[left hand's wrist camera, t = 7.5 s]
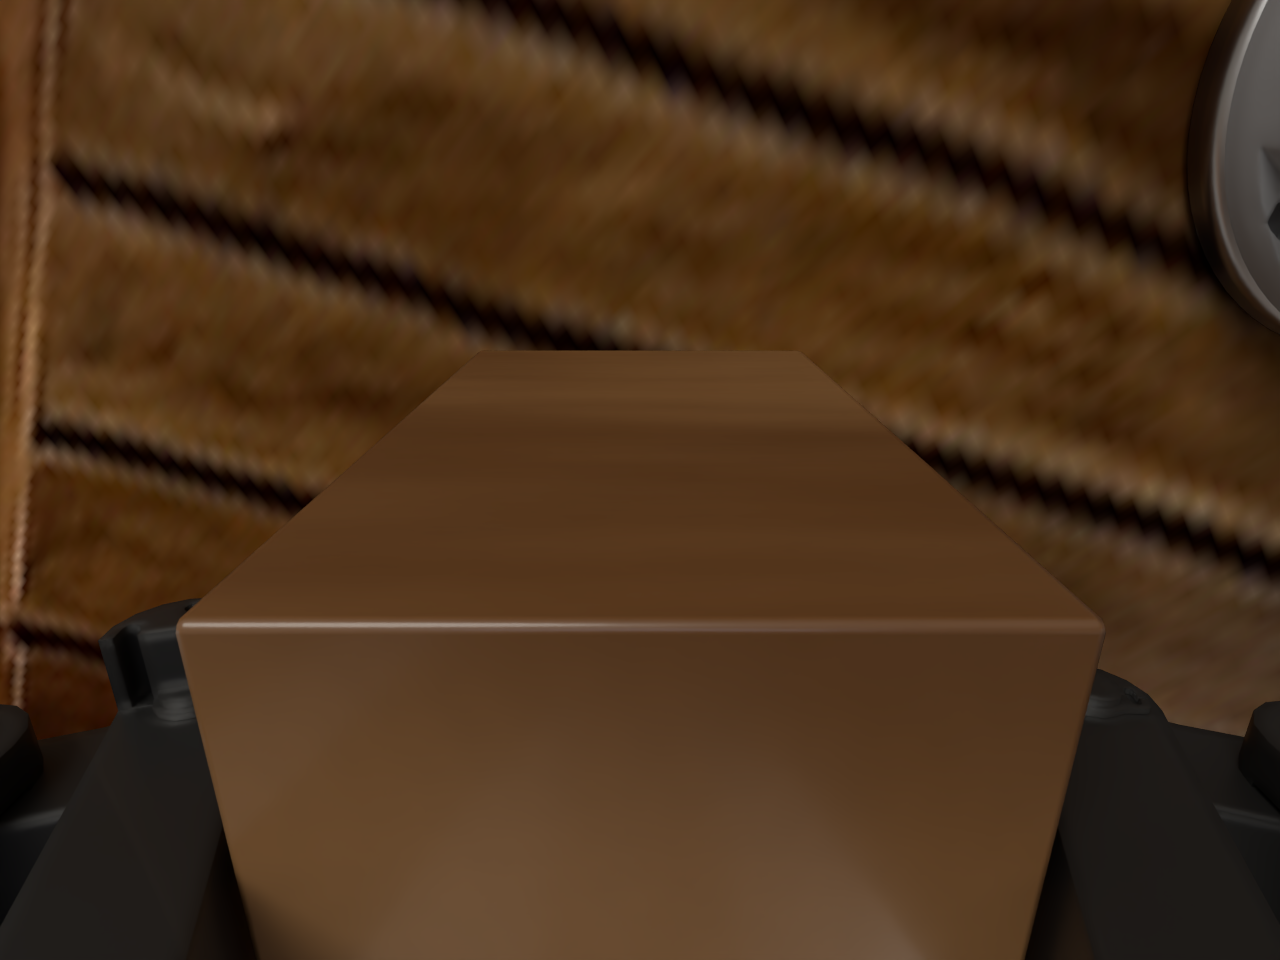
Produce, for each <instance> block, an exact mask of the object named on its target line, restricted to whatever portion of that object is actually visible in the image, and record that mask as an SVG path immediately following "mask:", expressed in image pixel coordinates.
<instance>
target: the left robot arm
mask: <svg viewBox="0 0 1280 960" xmlns="http://www.w3.org/2000/svg"><path fill="white" fill-rule="evenodd" d="M1187 171H1188V190H1189V198H1190V206H1191V212H1192V216H1193V220H1194V224H1195V228H1196V232H1197V235H1198V238H1199V241H1200V244H1201V246H1202V249H1203V252H1204V254H1205V256H1206V258H1207V260H1208V262H1209V264H1210V266H1211V268H1212V270H1213V272H1214V274H1215V275H1216V277H1217V278H1218V280H1219V281H1220V283H1221V284H1222V286H1223V287H1224V289H1225V290H1226V291H1227V292H1228V294H1229V295H1230V296H1231V297H1232V298H1233V299H1234V300H1235V301H1236V303H1237V304H1238V305H1239V306H1240V307H1241V308H1242V309H1244V310H1245V311H1246V312H1247V313H1248V314H1249V315H1250V316H1252V317H1253V318H1254V319H1255V320H1257V321H1258V322H1259V323H1261V324H1262V325H1264V326H1265V327H1267V328H1268V329H1270V330H1271V331H1273V332H1275V333H1277V334H1279V335H1280V0H1232V1H1231V3H1230V5H1229V7H1228V9H1227V11H1226V13H1225V15H1224V17H1223V19H1222V21H1221V24H1220V26H1219V28H1218V31H1217V33H1216V35H1215V38H1214V40H1213V43H1212V45H1211V47H1210V50H1209V53H1208V56H1207V59H1206V62H1205V65H1204V68H1203V71H1202V74H1201V77H1200V81H1199V85H1198V89H1197V93H1196V97H1195V101H1194V105H1193V111H1192V118H1191V124H1190V130H1189V141H1188V156H1187ZM201 599H202V598H200V599H188V600H183V601H178V602H173V603H168V604H164V605H161V606H158V607H155V608H152V609H149V610H146V611H144V612H141V613H138V614H135V615H134V616H132V617H130V618H128V619H126V620H124V621H123V622H121V623H119V624H117V625H115V626H114V627H112V628H111V629H110V630H109V631H108V632H107V633H106V634H105V635H104V636H103V637H102V638H101V639H99V640H98V642H99V645H100V649H101V652H102V655H103V659H104V662H105V666H106V669H107V673H108V676H109V680H110V683H111V686H112V690H113V693H114V697H115V700H116V704H117V707H118V713H117V715H116V717H115V718H114V720H113V722H112V724H111V726H108V727H104V728H100V729H95V730H89V731H84V732H79V733H74V734H68V735H63V736H58V737H53V738H48V739H42V740H37V738H36V735H35V732H34V729H33V726H32V723H31V720H30V718H29V715H28V713H26V712H25V711H23V710H22V709H20V708H19V707H17V706H12V705H2V704H0V960H256V957H255V952H254V948H253V944H252V940H251V936H250V932H249V928H248V924H247V920H246V916H245V912H244V908H243V904H242V900H241V896H240V892H239V888H238V884H237V880H236V876H235V872H234V868H233V864H232V859H231V855H230V851H229V847H228V843H227V839H226V835H225V831H224V827H223V823H222V819H221V815H220V811H219V807H218V803H217V799H216V795H215V791H214V787H213V783H212V779H211V775H210V770H209V766H208V762H207V758H206V754H205V750H204V746H203V742H202V738H201V734H200V730H199V726H198V722H197V718H196V714H195V710H194V706H193V702H192V698H191V694H190V690H189V686H188V682H187V677H186V673H185V669H184V665H183V661H182V657H181V653H180V649H179V645H178V641H177V637H176V626H177V623H178V621H179V619H180V618H181V617H182V616H183V615H184V614H185V613H186V612H188V611H189V610H190V609H191V608H192V607H193V606H194V605H195V604H197V603H198V602H199V601H200V600H201ZM1025 960H1280V701H1275V702H1265V703H1264V704H1262V705H1261V706H1259V707H1258V708H1257V709H1255V710H1254V711H1253V714H1252V717H1251V720H1250V723H1249V726H1248V729H1247V731H1246V734H1245V737H1241V736H1236V735H1230V734H1225V733H1220V732H1215V731H1209V730H1204V729H1199V728H1194V727H1188V726H1183V725H1178V724H1174V723H1170V722H1168V721H1167V719H1166V717H1165V715H1164V713H1163V712H1162V710H1161V709H1160V708H1159V706H1158V705H1157V704H1156V703H1155V702H1154V701H1153V700H1152V698H1151V697H1150V696H1149V695H1148V694H1147V693H1145V692H1143V691H1142V690H1140V689H1139V688H1137V687H1136V686H1134V685H1133V684H1131V683H1130V682H1128V681H1127V680H1124V679H1122V678H1120V677H1117V676H1115V675H1112V674H1110V673H1108V672H1105V671H1103V670H1100V669H1097V670H1096V674H1095V678H1094V682H1093V686H1092V690H1091V694H1090V698H1089V702H1088V706H1087V711H1086V715H1085V719H1084V723H1083V727H1082V731H1081V735H1080V739H1079V743H1078V747H1077V751H1076V755H1075V759H1074V763H1073V767H1072V771H1071V775H1070V779H1069V783H1068V787H1067V791H1066V795H1065V799H1064V803H1063V807H1062V811H1061V815H1060V819H1059V823H1058V827H1057V831H1056V835H1055V839H1054V843H1053V847H1052V851H1051V855H1050V859H1049V864H1048V868H1047V872H1046V876H1045V880H1044V884H1043V888H1042V892H1041V896H1040V900H1039V904H1038V908H1037V912H1036V916H1035V920H1034V924H1033V928H1032V932H1031V936H1030V940H1029V944H1028V948H1027V952H1026V956H1025Z"/></svg>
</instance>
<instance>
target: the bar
mask: <svg viewBox="0 0 1280 960" xmlns="http://www.w3.org/2000/svg"><path fill="white" fill-rule="evenodd" d="M1105 634H1106V632H1105V625H1104V623H1103V621H1102V619H1101V618H1100V617H1099V616H1098V615H1097V614H1096V613H1095V612H1093V611H1092V610H1091V609H1090V608H1089V607H1088V606H1087V605H1086V604H1084V603H1083V602H1082V601H1081V600H1080V599H1079V598H1078V597H1077V596H1075V595H1074V594H1073V593H1072V592H1071V591H1070V590H1069V589H1068V588H1066V587H1065V586H1064V585H1063V584H1062V583H1061V582H1060V581H1059V580H1057V579H1056V578H1055V577H1054V576H1053V575H1052V574H1051V573H1050V572H1048V571H1047V570H1046V569H1045V568H1044V567H1043V566H1042V565H1041V564H1039V563H1038V562H1037V561H1036V560H1035V559H1034V558H1033V557H1032V556H1030V555H1029V554H1028V553H1027V552H1026V551H1025V550H1024V549H1023V548H1021V547H1020V546H1019V545H1018V544H1017V543H1016V542H1015V541H1014V540H1012V539H1011V538H1010V537H1009V536H1008V535H1007V534H1006V533H1005V532H1003V531H1002V530H1001V529H1000V528H999V527H998V526H997V525H995V524H994V523H993V522H992V521H991V520H990V519H989V518H988V517H986V516H985V515H984V514H983V513H982V512H981V511H980V510H979V509H977V508H976V507H975V506H974V505H973V504H972V503H971V502H970V501H968V500H967V499H966V498H965V497H964V496H963V495H962V494H961V493H959V492H958V491H957V490H956V489H955V488H954V487H953V486H952V485H950V484H949V483H948V482H947V481H946V480H945V479H944V478H943V477H941V476H940V475H939V474H938V473H937V472H936V471H935V470H934V469H932V468H931V467H930V466H929V465H928V464H927V463H926V462H925V461H923V460H922V459H921V458H920V457H919V456H918V455H917V454H916V453H914V452H913V451H912V450H911V449H910V448H909V447H908V446H907V445H905V444H904V443H903V442H902V441H901V440H900V439H899V438H898V437H896V436H895V435H894V434H893V433H892V432H891V431H890V430H889V429H887V428H886V427H885V426H884V425H883V424H882V423H881V422H880V421H878V420H877V419H876V418H875V417H874V416H873V415H872V414H871V413H869V412H868V411H867V410H866V409H865V408H864V407H863V406H862V405H860V404H859V403H858V402H857V401H856V400H855V399H854V398H853V397H851V396H850V395H849V394H848V393H847V392H846V391H845V390H844V389H842V388H841V387H840V386H839V385H838V384H837V383H836V382H835V381H833V380H832V379H831V378H830V377H829V376H828V375H827V374H826V373H824V372H823V371H822V370H821V369H820V368H819V367H818V366H817V365H815V364H814V363H813V362H812V361H811V360H810V359H809V358H808V357H806V356H805V355H804V354H803V353H802V352H800V351H481V352H479V353H477V354H476V355H475V356H474V357H473V358H472V359H471V360H470V361H468V362H467V363H466V364H465V365H464V366H463V367H462V368H461V369H459V370H458V371H457V372H456V373H455V374H454V375H453V376H452V377H450V378H449V379H448V380H447V381H446V382H445V383H444V384H443V385H441V386H440V387H439V388H438V389H437V390H436V391H435V392H434V393H432V394H431V395H430V396H429V397H428V398H427V399H426V400H425V401H423V402H422V403H421V404H420V405H419V406H418V407H417V408H416V409H414V410H413V411H412V412H411V413H410V414H409V415H408V416H407V417H406V418H404V419H403V420H402V421H401V422H400V423H399V424H398V425H397V426H395V427H394V428H393V429H392V430H391V431H390V432H389V433H388V434H386V435H385V436H384V437H383V438H382V439H381V440H380V441H379V442H377V443H376V444H375V445H374V446H373V447H372V448H371V449H370V450H368V451H367V452H366V453H365V454H364V455H363V456H362V457H361V458H359V459H358V460H357V461H356V462H355V463H354V464H353V465H352V466H350V467H349V468H348V469H347V470H346V471H345V472H344V473H343V474H341V475H340V476H339V477H338V478H337V479H336V480H335V481H334V482H332V483H331V484H330V485H329V486H328V487H327V488H326V489H325V490H323V491H322V492H321V493H320V494H319V495H318V496H317V497H316V498H314V499H313V500H312V501H311V502H310V503H309V504H308V505H307V506H306V507H304V508H303V509H302V510H301V511H300V512H299V513H298V514H297V515H295V516H294V517H293V518H292V519H291V520H290V521H289V522H288V523H286V524H285V525H284V526H283V527H282V528H281V529H280V530H279V531H277V532H276V533H275V534H274V535H273V536H272V537H271V538H270V539H268V540H267V541H266V542H265V543H264V544H263V545H262V546H261V547H259V548H258V549H257V550H256V551H255V552H254V553H253V554H252V555H250V556H249V557H248V558H247V559H246V560H245V561H244V562H243V563H241V564H240V565H239V566H238V567H237V568H236V569H235V570H234V571H232V572H231V573H230V574H229V575H228V576H227V577H226V578H225V579H223V580H222V581H221V582H220V583H219V584H218V585H217V586H216V587H214V588H213V589H212V590H211V591H210V592H209V593H208V594H207V595H206V596H204V597H203V598H202V599H201V600H200V601H199V602H198V603H197V604H195V605H194V606H193V607H192V608H191V609H190V610H189V611H188V612H186V613H185V614H184V615H183V616H182V617H181V618H180V619H179V621H178V623H177V626H176V637H177V641H178V645H179V649H180V653H181V657H182V661H183V665H184V669H185V673H186V677H187V682H188V686H189V690H190V694H191V698H192V702H193V706H194V710H195V714H196V718H197V722H198V726H199V730H200V734H201V738H202V742H203V746H204V750H205V754H206V758H207V762H208V766H209V770H210V775H211V779H212V783H213V787H214V791H215V795H216V799H217V803H218V807H219V811H220V815H221V819H222V823H223V827H224V831H225V835H226V839H227V843H228V847H229V851H230V855H231V859H232V864H233V868H234V872H235V876H236V880H237V884H238V888H239V892H240V896H241V900H242V904H243V908H244V912H245V916H246V920H247V924H248V928H249V932H250V936H251V940H252V944H253V948H254V952H255V957H256V960H1025V956H1026V952H1027V948H1028V944H1029V940H1030V936H1031V932H1032V928H1033V924H1034V920H1035V916H1036V912H1037V908H1038V904H1039V900H1040V896H1041V892H1042V888H1043V884H1044V880H1045V876H1046V872H1047V868H1048V864H1049V859H1050V855H1051V851H1052V847H1053V843H1054V839H1055V835H1056V831H1057V827H1058V823H1059V819H1060V815H1061V811H1062V807H1063V803H1064V799H1065V795H1066V791H1067V787H1068V783H1069V779H1070V775H1071V771H1072V767H1073V763H1074V759H1075V755H1076V751H1077V747H1078V743H1079V739H1080V735H1081V731H1082V727H1083V723H1084V719H1085V715H1086V711H1087V706H1088V702H1089V698H1090V694H1091V690H1092V686H1093V682H1094V678H1095V674H1096V670H1097V666H1098V662H1099V658H1100V654H1101V650H1102V646H1103V642H1104V638H1105Z"/></svg>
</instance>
